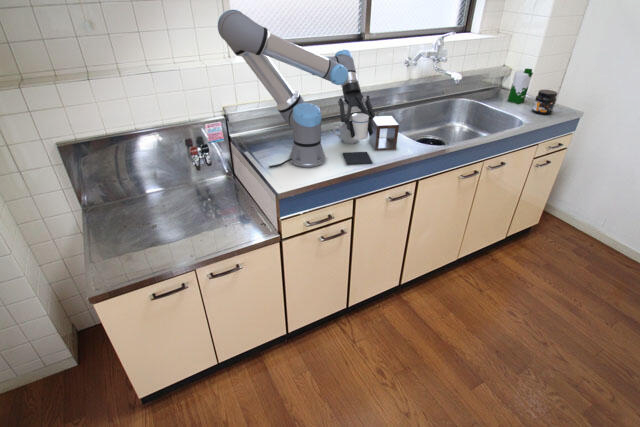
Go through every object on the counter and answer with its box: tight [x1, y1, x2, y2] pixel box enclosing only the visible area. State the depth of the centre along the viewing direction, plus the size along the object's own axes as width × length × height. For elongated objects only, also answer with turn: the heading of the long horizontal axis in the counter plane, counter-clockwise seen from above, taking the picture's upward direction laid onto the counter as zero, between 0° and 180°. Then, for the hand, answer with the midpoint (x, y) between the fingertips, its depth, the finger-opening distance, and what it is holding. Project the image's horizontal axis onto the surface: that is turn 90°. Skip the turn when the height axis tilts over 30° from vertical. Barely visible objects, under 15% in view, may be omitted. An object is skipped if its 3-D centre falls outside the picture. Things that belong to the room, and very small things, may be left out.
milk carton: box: [507, 68, 534, 105], centre depth 236 cm, size 9×9×20 cm
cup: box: [350, 112, 369, 141], centre depth 162 cm, size 7×7×9 cm
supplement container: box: [531, 89, 558, 116], centre depth 221 cm, size 10×10×12 cm
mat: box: [342, 151, 373, 166], centre depth 170 cm, size 11×11×1 cm
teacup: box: [332, 122, 360, 145], centre depth 184 cm, size 14×11×8 cm
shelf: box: [368, 115, 400, 152], centre depth 180 cm, size 10×12×12 cm
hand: (362, 135), depth 160 cm, fingers closed on cup, 7 cm apart
